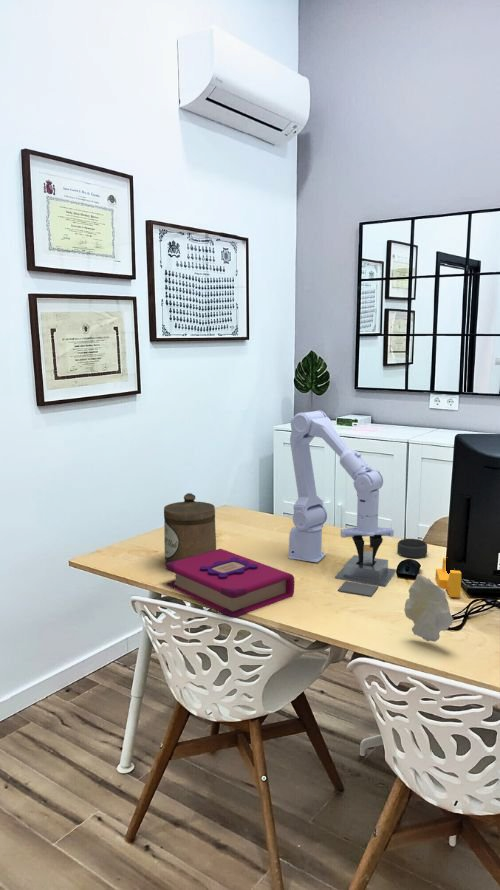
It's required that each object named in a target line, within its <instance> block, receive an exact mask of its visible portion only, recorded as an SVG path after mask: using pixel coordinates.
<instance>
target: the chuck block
mask: <svg viewBox="0 0 500 890" xmlns="http://www.w3.org/2000/svg"><path fill="white" fill-rule="evenodd" d="M396 572H397V570H396V569H395V568H390V567H389V559H383V558H378V557H377V558H376V557H375V559H374V562H372V567H371V566H365V565H361V562H360V561H359V557H358V554H353V555H352V556H351V557H350V559H348V561H346V562H345V564H344V565H343V568H342V569H340V571H339V572H338V573H337V574H336V575H334V579H337V580H343V581H348V582H354V583H360V584H367V585H373V586H378V587H386V586H387V584H388V583H389V582H390V580H391V579H392V577H394V575H395V573H396Z"/></svg>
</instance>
